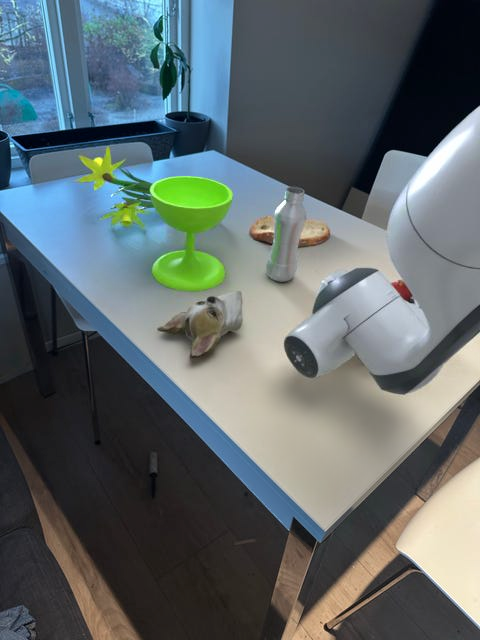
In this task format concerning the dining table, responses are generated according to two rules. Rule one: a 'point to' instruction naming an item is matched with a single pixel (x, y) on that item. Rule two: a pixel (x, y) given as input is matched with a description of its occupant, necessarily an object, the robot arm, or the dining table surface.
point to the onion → (402, 289)
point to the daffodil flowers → (127, 209)
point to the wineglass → (190, 229)
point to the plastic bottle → (287, 235)
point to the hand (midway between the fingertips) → (399, 291)
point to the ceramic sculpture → (208, 322)
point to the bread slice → (310, 234)
